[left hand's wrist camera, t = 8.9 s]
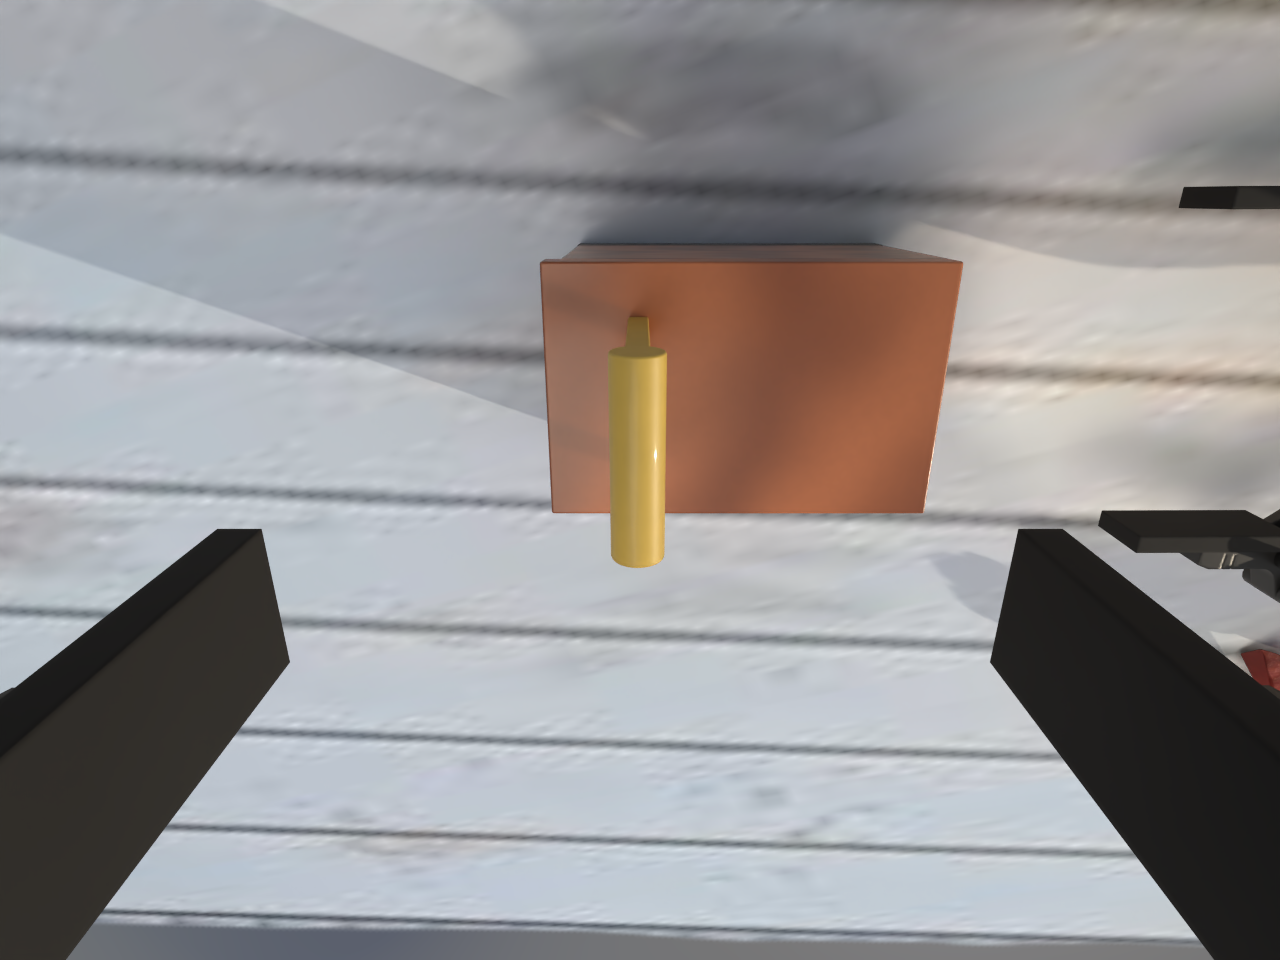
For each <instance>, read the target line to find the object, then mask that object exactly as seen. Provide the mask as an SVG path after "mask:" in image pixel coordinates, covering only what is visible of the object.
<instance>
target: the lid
mask: <svg viewBox="0 0 1280 960" xmlns="http://www.w3.org/2000/svg"><path fill="white" fill-rule="evenodd" d="M962 268H963V262H961V261H956V260H951V259H545V260H543V261H542V262H540V276H541V297H542V317H543V337H544V358H545V378H546V398H547V419H548V439H549V459H550V480H551V500H552V512H553V513H610V516H611V556H612V558H613V560H614V561H615V562H616V563H618V564H620V565H623V566H626V567H632V568H643V567H649V566H653V565H655V564H657V563H659V562H660V561H661V560H662V559H663V557H664V539H665V513H924V509H925V502H926V496H927V490H928V483H929V477H930V471H931V464H932V458H933V452H934V445H935V439H936V433H937V427H938V420H939V414H940V408H941V401H942V395H943V389H944V382H945V376H946V370H947V363H948V357H949V351H950V344H951V338H952V332H953V325H954V319H955V313H956V306H957V300H958V294H959V287H960V281H961V275H962Z"/></svg>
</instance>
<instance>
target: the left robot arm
mask: <svg viewBox="0 0 1280 960" xmlns="http://www.w3.org/2000/svg"><path fill="white" fill-rule="evenodd" d="M289 663H290V660H289V656H288V651H287V646H286V642H285V637H284V632H283V627H282V623H281V618H280V613H279V609H278V604H277V599H276V595H275V590H274V585H273V580H272V576H271V571H270V566H269V562H268V557H267V552H266V548H265V543H264V538H263V534H262V529H217V530H215V531H214V532H213V533H212V534H210V535H209V536H208V537H207V538H205V539H204V540H203V541H201V542H200V543H199V544H198V545H196V546H195V547H194V548H193V549H191V550H190V551H189V552H187V553H186V554H185V555H184V556H182V557H181V558H180V559H178V560H177V561H176V562H175V563H173V564H172V565H171V566H170V567H168V568H167V569H166V570H164V571H163V572H162V573H161V574H159V575H158V576H157V577H156V578H154V579H153V580H152V581H150V582H149V583H148V584H147V585H145V586H144V587H143V588H142V589H140V590H139V591H138V592H136V593H135V594H134V595H133V596H131V597H130V598H129V599H128V600H126V601H125V602H124V603H122V604H121V605H120V606H119V607H117V608H116V609H115V610H113V611H112V612H111V613H110V614H108V615H107V616H106V617H105V618H103V619H102V620H101V621H99V622H98V623H97V624H96V625H94V626H93V627H92V628H91V629H89V630H88V631H87V632H85V633H84V634H83V635H82V636H80V637H79V638H78V639H77V640H75V641H74V642H73V643H71V644H70V645H69V646H68V647H66V648H65V649H64V650H63V651H61V652H60V653H59V654H57V655H56V656H55V657H54V658H52V659H51V660H50V661H48V662H47V663H46V664H45V665H43V666H42V667H41V668H40V669H38V670H37V671H36V672H34V673H33V674H32V675H31V676H29V677H28V678H27V679H26V680H24V681H23V682H22V683H20V684H19V685H18V686H17V687H15V688H11V689H9V690H7V691H5V692H3V693H1V694H0V960H66V959H67V957H68V956H69V955H70V953H71V952H72V951H73V949H74V948H75V947H76V945H77V944H78V943H79V942H80V940H81V939H82V938H83V936H84V935H85V934H86V932H87V931H88V930H89V928H90V927H91V926H92V924H93V923H94V922H95V920H96V919H97V918H98V916H99V915H100V914H101V912H102V911H103V910H104V908H105V907H106V906H107V904H108V903H109V902H110V900H111V899H112V898H113V896H114V895H115V894H116V892H117V891H118V890H119V888H120V887H121V886H122V884H123V883H124V882H125V880H126V879H127V878H128V876H129V875H130V874H131V872H132V871H133V870H134V869H135V867H136V866H137V865H138V863H139V862H140V861H141V859H142V858H143V857H144V855H145V854H146V853H147V851H148V850H149V849H150V847H151V846H152V845H153V843H154V842H155V841H156V839H157V838H158V837H159V835H160V834H161V833H162V831H163V830H164V829H165V827H166V826H167V825H168V823H169V822H170V821H171V819H172V818H173V817H174V815H175V814H176V813H177V811H178V810H179V809H180V807H181V806H182V805H183V803H184V802H185V801H186V799H187V798H188V797H189V795H190V794H191V793H192V792H193V790H194V789H195V788H196V786H197V785H198V784H199V782H200V781H201V780H202V778H203V777H204V776H205V774H206V773H207V772H208V770H209V769H210V768H211V766H212V765H213V764H214V762H215V761H216V760H217V758H218V757H219V756H220V754H221V753H222V752H223V750H224V749H225V748H226V746H227V745H228V744H229V742H230V741H231V740H232V738H233V737H234V736H235V734H236V733H237V732H238V730H239V729H240V728H241V726H242V725H243V724H244V722H245V721H246V720H247V718H248V717H249V716H250V715H251V713H252V712H253V711H254V709H255V708H256V707H257V705H258V704H259V703H260V701H261V700H262V699H263V697H264V696H265V695H266V693H267V692H268V691H269V689H270V688H271V687H272V685H273V684H274V683H275V681H276V680H277V679H278V677H279V676H280V675H281V673H282V672H283V671H284V669H285V668H286V667H287V665H288V664H289ZM990 663H991V664H992V665H993V667H994V668H995V669H996V671H997V672H998V673H999V675H1000V676H1001V677H1002V679H1003V680H1004V681H1005V683H1006V684H1007V685H1008V687H1009V688H1010V689H1011V691H1012V692H1013V693H1014V695H1015V696H1016V697H1017V699H1018V700H1019V701H1020V703H1021V704H1022V705H1023V707H1024V708H1025V709H1026V711H1027V712H1028V713H1029V715H1030V716H1031V717H1032V718H1033V720H1034V721H1035V722H1036V724H1037V725H1038V726H1039V728H1040V729H1041V730H1042V732H1043V733H1044V734H1045V736H1046V737H1047V738H1048V740H1049V741H1050V742H1051V744H1052V745H1053V746H1054V748H1055V749H1056V750H1057V752H1058V753H1059V754H1060V756H1061V757H1062V758H1063V760H1064V761H1065V762H1066V764H1067V765H1068V766H1069V768H1070V769H1071V770H1072V772H1073V773H1074V774H1075V776H1076V777H1077V778H1078V780H1079V781H1080V782H1081V784H1082V785H1083V786H1084V788H1085V789H1086V790H1087V792H1088V793H1089V794H1090V795H1091V797H1092V798H1093V799H1094V801H1095V802H1096V803H1097V805H1098V806H1099V807H1100V809H1101V810H1102V811H1103V813H1104V814H1105V815H1106V817H1107V818H1108V819H1109V821H1110V822H1111V823H1112V825H1113V826H1114V827H1115V829H1116V830H1117V831H1118V833H1119V834H1120V835H1121V837H1122V838H1123V839H1124V841H1125V842H1126V843H1127V845H1128V846H1129V847H1130V849H1131V850H1132V851H1133V853H1134V854H1135V855H1136V857H1137V858H1138V859H1139V861H1140V862H1141V863H1142V865H1143V866H1144V867H1145V869H1146V870H1147V871H1148V872H1149V874H1150V875H1151V876H1152V878H1153V879H1154V880H1155V882H1156V883H1157V884H1158V886H1159V887H1160V888H1161V890H1162V891H1163V892H1164V894H1165V895H1166V896H1167V898H1168V899H1169V900H1170V902H1171V903H1172V904H1173V906H1174V907H1175V908H1176V910H1177V911H1178V912H1179V914H1180V915H1181V916H1182V918H1183V919H1184V920H1185V922H1186V923H1187V924H1188V926H1189V927H1190V928H1191V930H1192V931H1193V932H1194V934H1195V935H1196V936H1197V938H1198V939H1199V940H1200V942H1201V943H1202V944H1203V946H1204V947H1205V948H1206V949H1207V951H1208V952H1209V953H1210V955H1211V956H1212V957H1213V959H1214V960H1280V691H1279V690H1277V689H1275V688H1273V687H1271V686H1270V685H1261V684H1260V683H1258V682H1257V681H1256V680H1254V679H1253V678H1252V677H1251V676H1249V675H1248V674H1247V673H1246V672H1244V671H1243V670H1242V669H1240V668H1239V667H1238V666H1237V665H1235V664H1234V663H1233V662H1232V661H1230V660H1229V659H1228V658H1226V657H1225V656H1224V655H1223V654H1221V653H1220V652H1219V651H1217V650H1216V649H1215V648H1214V647H1212V646H1211V645H1210V644H1209V643H1207V642H1206V641H1205V640H1203V639H1202V638H1201V637H1200V636H1198V635H1197V634H1196V633H1195V632H1193V631H1192V630H1191V629H1189V628H1188V627H1187V626H1186V625H1184V624H1183V623H1182V622H1181V621H1179V620H1178V619H1177V618H1175V617H1174V616H1173V615H1172V614H1170V613H1169V612H1168V611H1167V610H1165V609H1164V608H1163V607H1161V606H1160V605H1159V604H1158V603H1156V602H1155V601H1154V600H1152V599H1151V598H1150V597H1149V596H1147V595H1146V594H1145V593H1144V592H1142V591H1141V590H1140V589H1138V588H1137V587H1136V586H1135V585H1133V584H1132V583H1131V582H1130V581H1128V580H1127V579H1126V578H1124V577H1123V576H1122V575H1121V574H1119V573H1118V572H1117V571H1116V570H1114V569H1113V568H1112V567H1110V566H1109V565H1108V564H1107V563H1105V562H1104V561H1103V560H1102V559H1100V558H1099V557H1098V556H1096V555H1095V554H1094V553H1093V552H1091V551H1090V550H1089V549H1087V548H1086V547H1085V546H1084V545H1082V544H1081V543H1080V542H1079V541H1077V540H1076V539H1075V538H1073V537H1072V536H1071V535H1070V534H1068V533H1067V532H1066V531H1065V530H1063V529H1018V534H1017V538H1016V543H1015V548H1014V552H1013V557H1012V562H1011V566H1010V571H1009V576H1008V580H1007V585H1006V590H1005V595H1004V599H1003V604H1002V609H1001V613H1000V618H999V623H998V627H997V632H996V637H995V642H994V646H993V651H992V656H991V660H990Z"/></svg>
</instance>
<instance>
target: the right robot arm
mask: <svg viewBox="0 0 1280 960" xmlns="http://www.w3.org/2000/svg"><path fill="white" fill-rule="evenodd" d="M1179 208H1203V209H1280V186H1220V187H1184V189H1183V193H1182V197H1181V200H1180V204H1179ZM1098 526H1099V527H1101V528H1102V529H1104V530H1105V531H1106V532H1108V533H1109V534H1111V535H1112V536H1113V537H1115V538H1116V539H1117V540H1119V541H1120V542H1122V543H1123V544H1124V545H1126V546H1127V547H1129V548H1130V549H1131V550H1133V551H1134V552H1136V553H1181V554H1182V555H1184V556H1185V557H1187V558H1188V559H1190V560H1191V561H1193V562H1194V563H1196V564H1197V565H1199V566H1202V567H1204V568H1207V569H1244V571H1243V575H1242V577H1243V579H1244V580H1245V581H1246V582H1248V583H1249V584H1251V585H1253V586H1254V587H1255V588H1257V589H1259V590H1260V591H1262V592H1263V593H1265V594H1266V595H1268V596H1270V597H1271V598H1273V599H1274V600H1276V601H1278V602H1279V603H1280V509H1279V510H1278V511H1276V512H1274V513H1273V514H1271V515H1270V516H1268V517H1266V518H1265V519H1261V518H1259V517H1258V516H1256V515H1254V514H1252V513H1250V512H1248V511H1246V510H1148V511H1102V512H1101V516H1100V520H1099V524H1098Z"/></svg>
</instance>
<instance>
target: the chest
mask: <svg viewBox="0 0 1280 960" xmlns="http://www.w3.org/2000/svg"><path fill="white" fill-rule="evenodd" d="M562 259H947V258H942V257H937V256H932V255H927V254H922V253H917V252H912V251H907V250H902V249H897V248H892V247H887V246H882V245H879V244H579V245H578V246H577V247H576V248H575V249H574V250H572V251H571V252H570V253H568V254H567V255H566V256H565V257H563V258H562Z"/></svg>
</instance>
